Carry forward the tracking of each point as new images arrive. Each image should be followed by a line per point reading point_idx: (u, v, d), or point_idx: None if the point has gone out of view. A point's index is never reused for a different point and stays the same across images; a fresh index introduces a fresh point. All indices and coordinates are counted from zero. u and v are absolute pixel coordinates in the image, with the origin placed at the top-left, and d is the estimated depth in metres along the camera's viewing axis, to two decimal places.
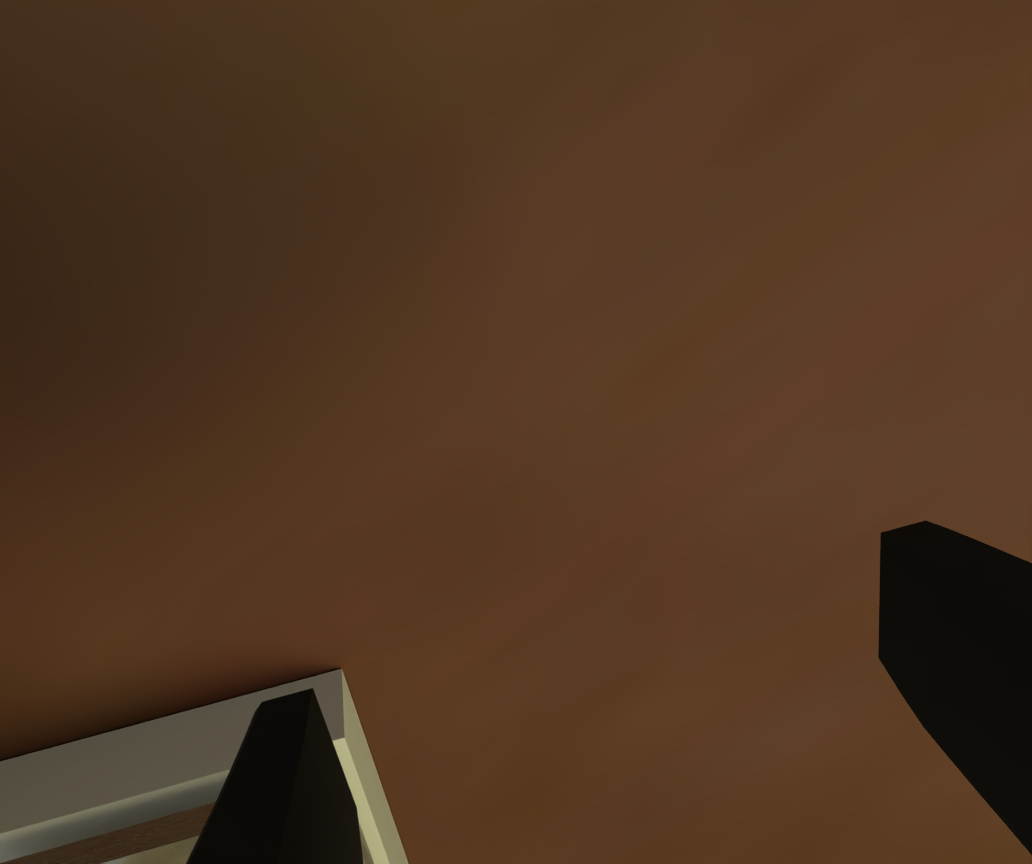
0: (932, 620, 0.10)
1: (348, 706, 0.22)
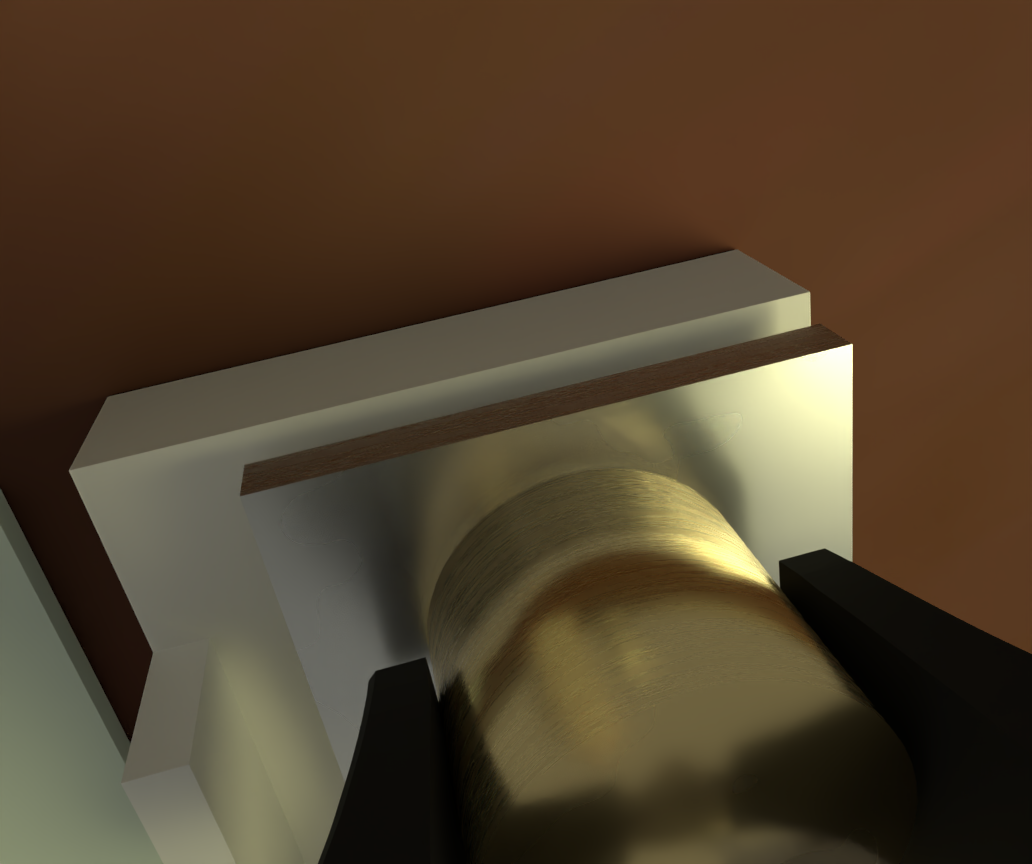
0: None
1: None
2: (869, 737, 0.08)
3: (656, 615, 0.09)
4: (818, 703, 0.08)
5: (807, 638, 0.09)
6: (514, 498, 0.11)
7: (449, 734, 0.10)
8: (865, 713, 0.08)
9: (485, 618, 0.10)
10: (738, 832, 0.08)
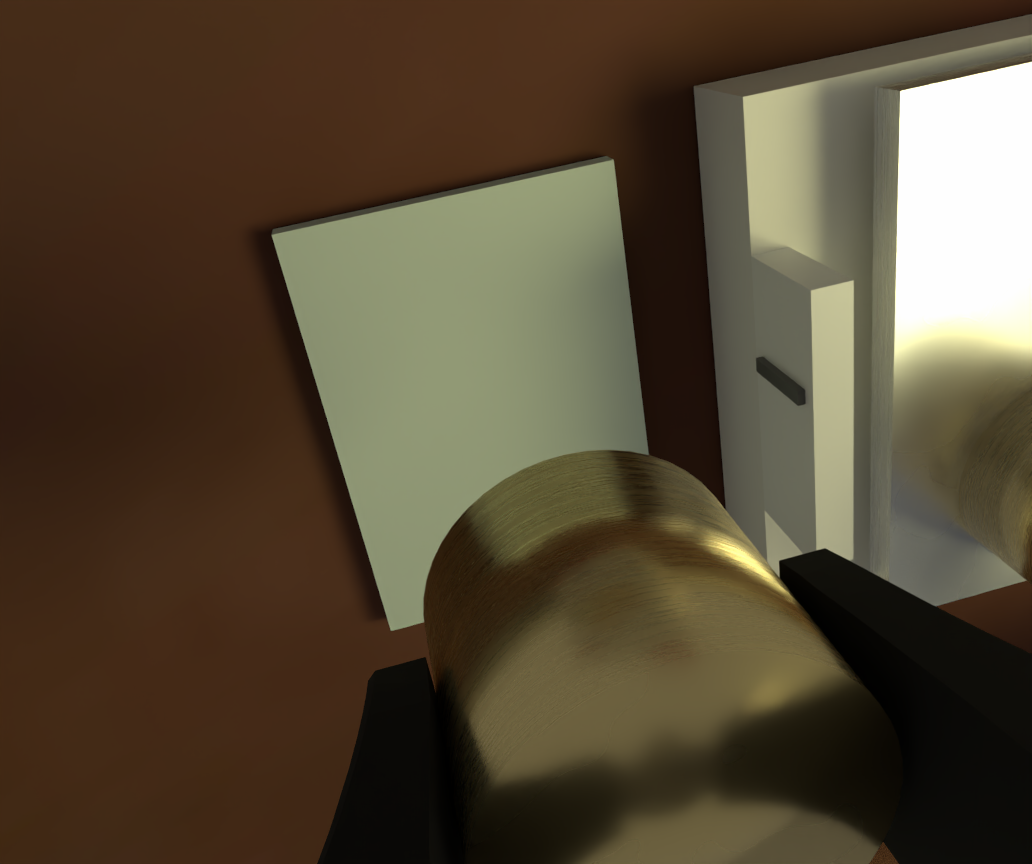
0: None
1: None
2: (857, 711, 0.08)
3: (652, 586, 0.09)
4: (808, 675, 0.08)
5: (799, 615, 0.09)
6: (512, 476, 0.11)
7: (443, 703, 0.10)
8: (854, 687, 0.08)
9: (482, 590, 0.10)
10: (727, 803, 0.09)
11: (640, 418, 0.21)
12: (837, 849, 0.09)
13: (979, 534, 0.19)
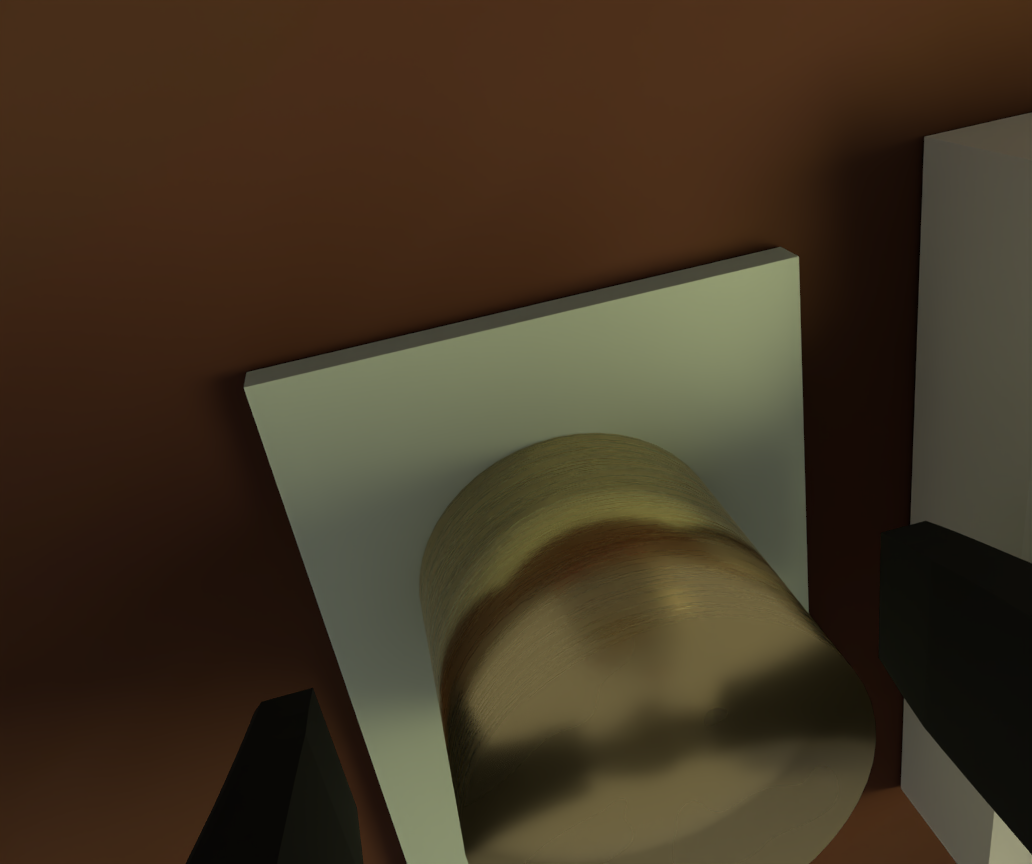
0: (932, 620, 0.10)
1: None
2: (832, 676, 0.09)
3: (637, 559, 0.09)
4: (784, 641, 0.09)
5: (778, 586, 0.09)
6: (505, 458, 0.12)
7: (439, 674, 0.10)
8: (829, 653, 0.09)
9: (476, 565, 0.10)
10: (710, 764, 0.09)
11: None
12: (814, 809, 0.10)
13: None
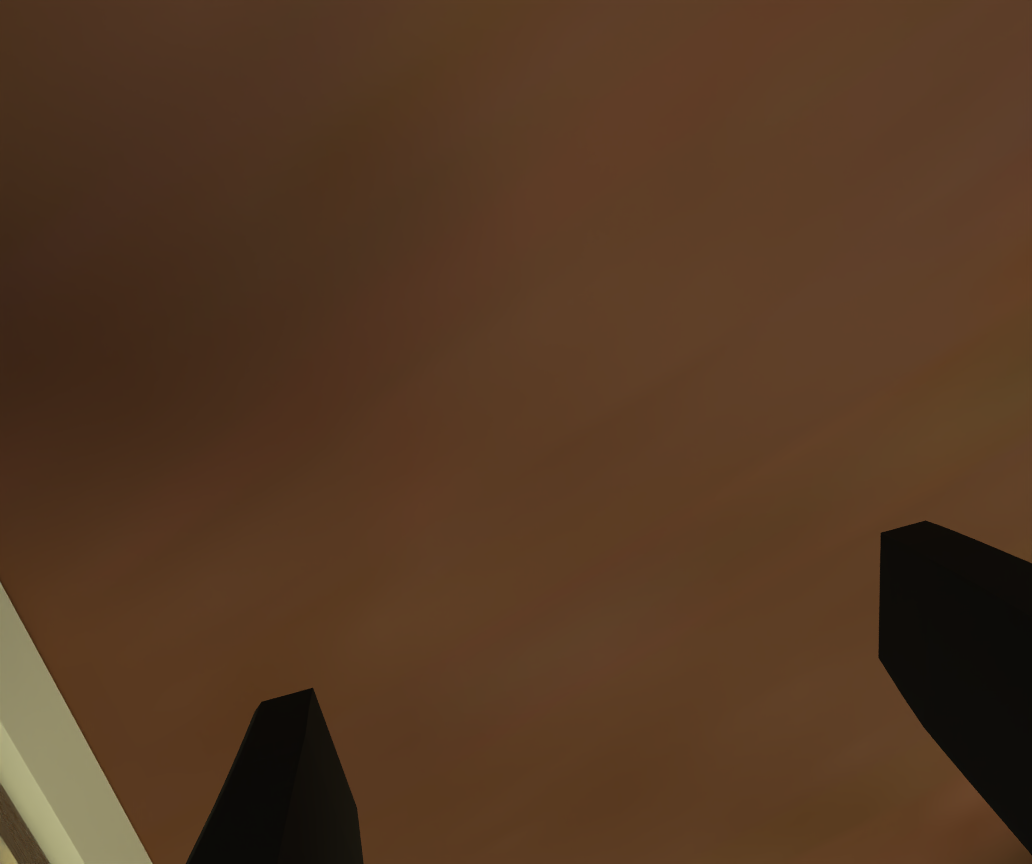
0: (932, 620, 0.10)
1: None
2: None
3: None
4: None
5: None
6: None
7: None
8: None
9: None
10: None
11: None
12: None
13: None
